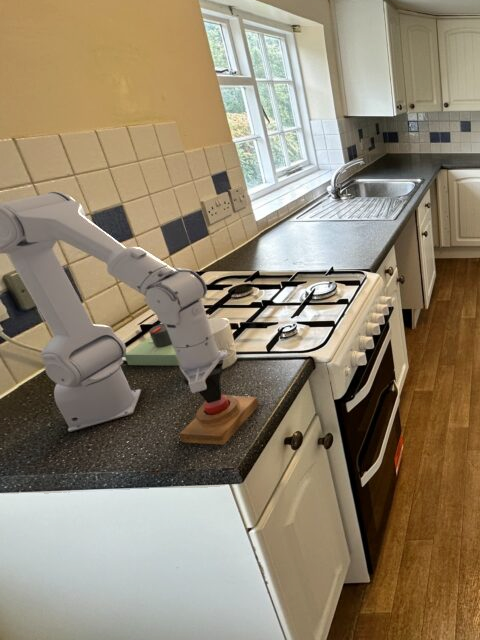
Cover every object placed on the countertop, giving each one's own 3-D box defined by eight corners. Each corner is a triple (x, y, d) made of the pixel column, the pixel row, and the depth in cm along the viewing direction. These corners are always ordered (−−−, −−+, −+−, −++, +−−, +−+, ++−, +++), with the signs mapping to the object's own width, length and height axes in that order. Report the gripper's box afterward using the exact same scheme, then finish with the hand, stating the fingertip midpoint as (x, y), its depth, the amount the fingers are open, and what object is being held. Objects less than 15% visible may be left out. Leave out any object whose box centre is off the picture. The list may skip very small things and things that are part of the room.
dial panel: (128, 365, 96) (123, 353, 95) (162, 340, 105) (158, 330, 104) (178, 365, 96) (174, 354, 95) (208, 341, 105) (205, 330, 104)
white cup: (208, 378, 92) (194, 340, 88) (195, 364, 96) (181, 328, 92) (246, 360, 97) (235, 324, 94) (232, 348, 102) (221, 313, 98)
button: (220, 416, 76) (217, 408, 76) (201, 415, 77) (198, 407, 76) (233, 402, 80) (231, 395, 79) (215, 401, 80) (213, 394, 79)
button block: (224, 445, 75) (218, 428, 73) (182, 442, 75) (175, 425, 74) (259, 405, 84) (254, 389, 82) (222, 403, 84) (216, 388, 83)
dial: (164, 336, 101) (158, 321, 100) (182, 337, 101) (176, 322, 100) (149, 347, 97) (143, 332, 96) (168, 347, 97) (162, 332, 96)
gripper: (217, 352, 68) (238, 416, 73) (222, 314, 80) (240, 370, 85) (163, 366, 65) (189, 431, 70) (177, 324, 76) (199, 382, 82)
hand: (214, 399), depth 77 cm, fingers closed
